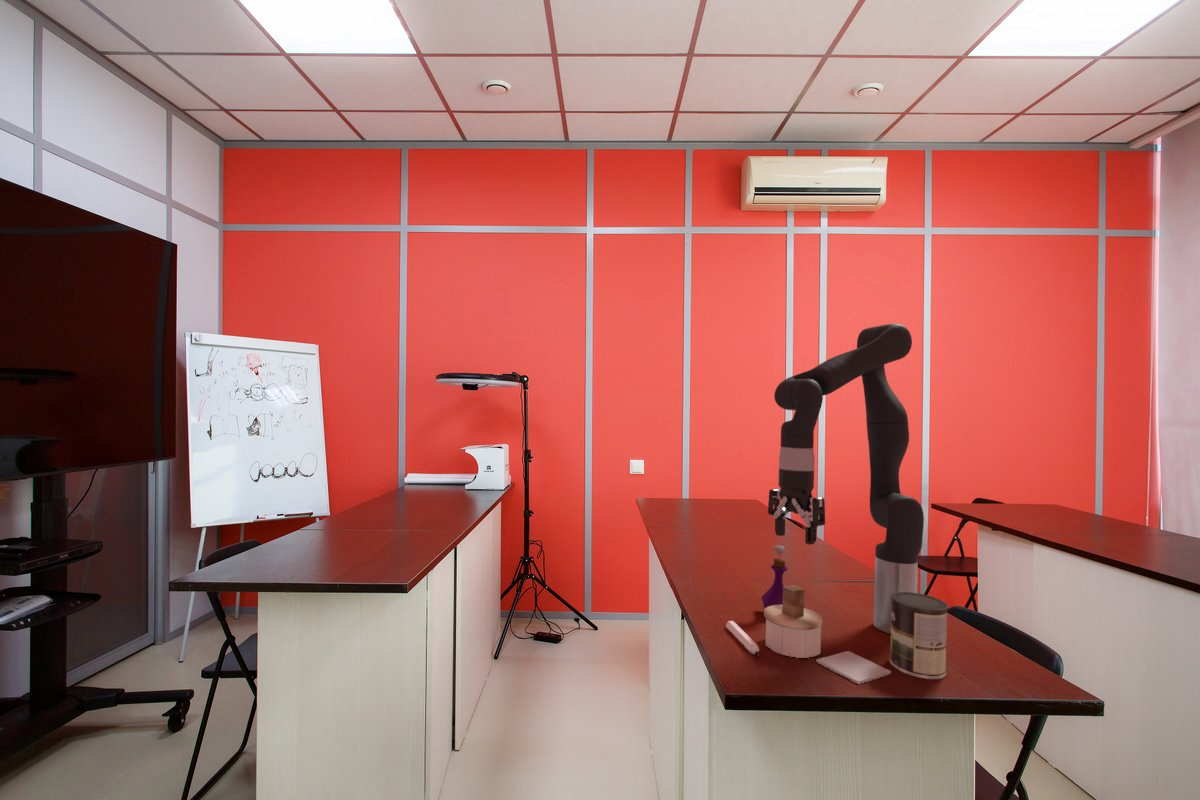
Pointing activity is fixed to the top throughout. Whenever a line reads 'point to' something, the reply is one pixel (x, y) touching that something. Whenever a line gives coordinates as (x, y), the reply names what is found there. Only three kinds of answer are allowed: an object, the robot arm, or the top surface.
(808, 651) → the pot
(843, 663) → the mat
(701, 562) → the top surface
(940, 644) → the coffee can
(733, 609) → the top surface
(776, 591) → the perfume bottle
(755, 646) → the marker
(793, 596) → the lid
